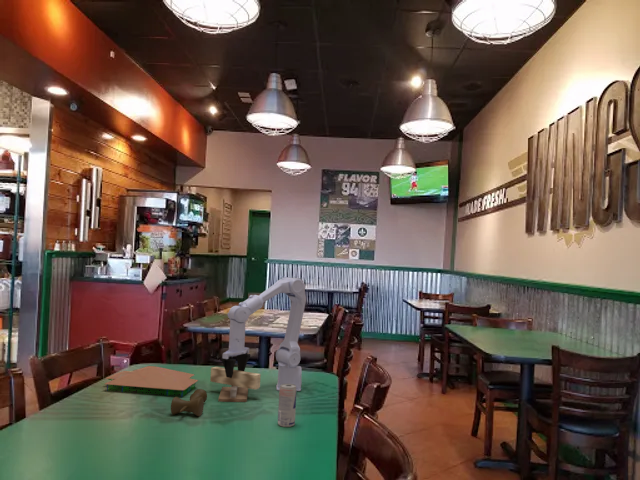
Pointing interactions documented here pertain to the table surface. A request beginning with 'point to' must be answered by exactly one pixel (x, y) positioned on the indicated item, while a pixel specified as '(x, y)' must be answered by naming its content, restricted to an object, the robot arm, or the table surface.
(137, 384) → the brown flat slab
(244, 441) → the table surface
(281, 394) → the energy drink
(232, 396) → the ridge stand
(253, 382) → the maple bar
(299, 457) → the table surface
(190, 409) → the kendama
